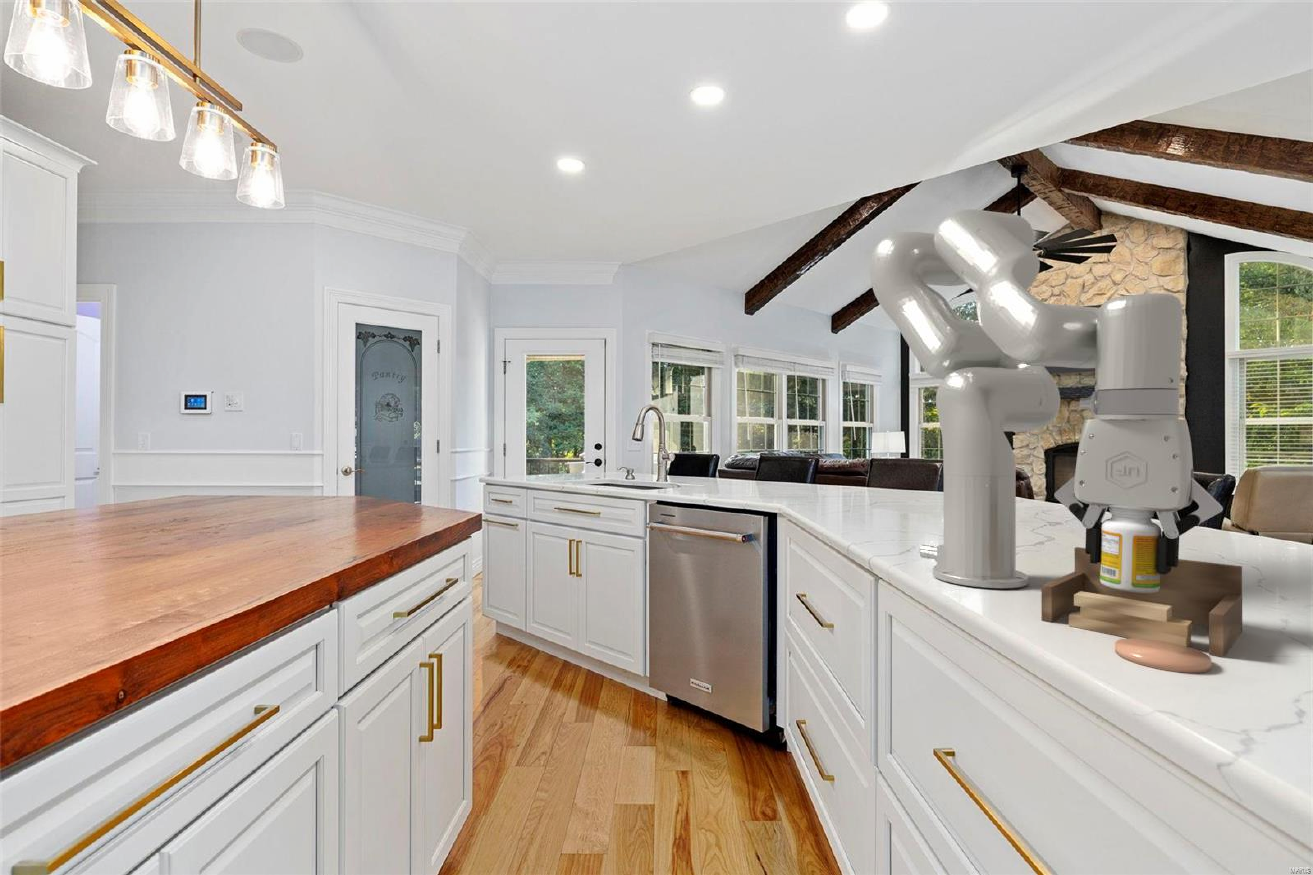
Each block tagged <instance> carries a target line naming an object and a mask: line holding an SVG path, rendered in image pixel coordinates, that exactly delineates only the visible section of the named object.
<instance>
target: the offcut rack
mask: <svg viewBox="0 0 1313 875" xmlns="http://www.w3.org/2000/svg"><path fill="white" fill-rule="evenodd" d="M1078 608H1079V611H1074V610H1076V609H1078ZM1073 611H1074V612H1073ZM1070 612H1072V613H1070ZM1069 613H1070V614H1069ZM1068 614H1069V615H1068ZM1066 615H1068V626H1069V627H1073V628H1078V629H1082V630H1086V631H1091V632H1092V631H1093V632H1097V633H1101V634H1102V633H1103V634H1107V635H1112V636H1116V637H1122V638H1125V639H1127V638H1138V639H1150V640H1158V641H1164V642H1169V643H1174V644H1178V645H1182V646H1186V647H1189V648H1190V646H1191V645H1192V634H1193V625H1200V626H1205V627H1208V654H1209V656H1216V657H1221V658H1224V657H1225V655H1226V654H1227V653H1228V651H1229V650H1230V649H1231V647H1232V646H1233V644H1234V643H1235V641H1236V640H1237V638H1238V637H1239V635H1240V634H1241V633H1242V632H1243V566H1242V565H1233V564H1226V563H1225V564H1224V563H1215V562H1210V561H1209V562H1206V561H1202V560H1200V561H1199V560H1191V559H1183V558H1182V559H1181V558H1178V566H1177V567H1171V571H1170V572H1169V573H1167V574H1166V575H1164V574H1160V589H1159V591H1158V592H1155V593H1136V592H1127V591H1121V590H1116V589H1112V588H1109V587H1107V586H1104V585H1103V584H1102V583H1101V582H1100V562H1099V563H1097V564H1094V563H1090V554H1086V552H1085V547H1079V546H1076V547H1074V571H1072V572H1070V573H1068V574H1065V575H1063V576H1061V577H1059V578H1056V579H1054V580H1051V581H1049V582H1047V583H1045V584H1042V585H1041V621H1043V622H1048V623H1053V622H1054V621H1056V620H1058V619H1060V618H1062V617H1063V616H1066Z"/></svg>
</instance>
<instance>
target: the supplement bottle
mask: <svg viewBox="0 0 1313 875" xmlns="http://www.w3.org/2000/svg"><path fill="white" fill-rule="evenodd" d="M1108 510H1109V514H1111V517H1110V518H1107V519H1105V520H1104V521H1103V520H1102V527H1101V557H1100V582H1101V583H1102V584H1103V585H1104V586H1107V587H1109V588H1112V589H1116V590H1121V591H1127V592H1136V593H1155V592H1158V591H1159V589H1160V574H1159V572H1157V551H1158V538H1160V537H1162V527H1160V526H1161V525H1159V524H1158V523H1156V522H1153V521H1152V518H1154V517H1155V511H1149V510H1139V509H1128V508H1118V507H1108Z"/></svg>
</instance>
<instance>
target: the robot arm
mask: <svg viewBox="0 0 1313 875" xmlns="http://www.w3.org/2000/svg"><path fill="white" fill-rule="evenodd" d="M1034 244H1035V232H1034V229H1033V227H1032V225H1031V224H1030V223H1029V221H1028V220H1027V219H1026V218H1024V217H1023V216H1020V215H1018V214H1013V213H1007V212H999V211H990V210H983V209H974V208H972V209H962V210H958V211H955V212H952V213H950V214H949V215H948V216H946V217H944V219H943V220H941V222H940V223H939V224H938V226H937V227H936V228H935V231H934V233H932V232H923V231H922V232H921V231H902V232H897V233H893V234H890V235H888V236H886V237H883V239H882V240H880V241H879V242H878V243H877V244H876V246H875V248H874V250H873V252H872V255H871V256H872V257H871V259H870V270H869V271H870V280H871V281H870V282H871V286H872V290H873V293H874V296H875V298H876V299H877V302H878V304H879V305H880V307H881V308H882V309H883V311H885V312H884V313H886V314H887V316H888V317H889V318H890V319H891V320H892V322H893V323H894V324H895V325H896V327H897V329H898V330H899V332H900V333H901V335H902V337H903V339H904V340H905V342H906V344H907V346H908V347H909V348H910V351H911V352H912V353H913V355H914V356H915V358H916V361H918V363H919V364H920V365H921V367H922V369H923V371H925V372H926V373H927V374H928V376H931V377H932V378H936V379H938V380H941V382H940V384H939V385H938V387H937V389H936V396H935V405H936V407H935V408H936V412H937V417H938V418H937V419H938V422H939V426H940V431H941V433H940V434H941V439H942V460H943V461H942V462H943V464H942V465H943V472H942V473H943V544H939V545H937V546H934V545H929V544H921V545H920V547H919V556H920V558H922V559H928V560H929V559H931V560H934V561H935V562H936V565H934V566H933V567H932V568H931V569H932V575H933V577H935V579H938V580H940V581H943V582H944V581H945V582H947V583H951V584H955V585H962V586H968V587H973V588H974V587H975V588H983V589H984V588H986V589H1016V588H1017V589H1018V588H1023V587H1025V586H1027V585H1028V584H1029V576H1028V574H1026V573H1024V572H1022V571H1021V570H1017V568H1016V566H1017V565H1016V562H1017V559H1016V541H1017V540H1016V536H1017V533H1016V532H1017V528H1016V524H1017V523H1016V522H1017V521H1016V520H1017V519H1016V510H1017V508H1016V504H1017V503H1016V502H1017V500H1016V495H1017V494H1016V489H1017V488H1016V486H1017V485H1016V481H1017V480H1016V479H1017V478H1016V470H1017V469H1016V467H1017V466H1016V459H1015V458H1016V457H1015V454H1014V450H1013V448H1012V446H1011V443H1010V442H1009V439H1008V438H1007V436H1006V434H1005V432H1032V431H1036V430H1037V431H1038V430H1040V429H1044V428H1045V427H1047V426H1049V425H1050V424H1051V423H1052V422H1053V421H1054V420H1055V419H1056V418H1057V416H1058V414H1059V410H1060V408H1061V395H1060V389H1059V387H1058V386H1057V383H1056V381H1055V379H1054V378H1053V376H1052V375H1051V374H1050V372H1049V371H1048V370H1047V368H1046V367H1056V368H1057V367H1060V368H1061V367H1062V368H1067V369H1071V368H1073V369H1094V370H1095V371H1094V372H1095V373H1094V391H1092V394H1091V395H1090V396H1088V397H1081V398H1080V399H1079V409H1081V410H1088V411H1090V412H1091V415H1093V418H1092V419H1090V418H1087V419H1086V418H1085V419H1084V422H1083V425H1082V427H1081V433H1080V438H1079V443H1078V450H1077V455H1076V463H1075V471H1074V476H1072V477H1071V478H1070V479H1069V480H1068V481H1067V482H1066V483H1064V484H1063V485H1062V486H1061V487H1060V488H1059V489H1057V490H1056V491H1055V492H1054V494H1053V495H1054V498H1055V499H1056V500H1057V501H1059V502H1060V503H1061V504H1062V505H1063V506H1064V507H1065V508H1067V509H1068V511H1069V512H1070V513H1071V514H1072V515H1073V516H1074V517H1075V518H1076V519H1077V520H1078V521H1079V522H1080V523H1081V524H1082V526H1083V528H1085V544H1084V545H1085V547H1084V548H1085V552H1086V554H1090V563H1094V564H1097V563H1099V562H1100V557H1101V527H1102V523H1103V519H1104V517H1105V514H1106V512H1107V510H1108V509H1109V507H1118V508H1128V509H1139V510H1149V511H1154V512H1156V515H1157V518H1158V520H1159V524H1160V526H1161V529H1162V530H1161V534H1162V537H1160V538H1158V551H1157V572H1159V574H1164V575H1166V574H1167V573H1169V572H1170V571H1171V567H1177V566H1178V559H1180V558H1179V555H1180V554H1179V552H1180V551H1179V550H1180V536H1182V535H1183V534H1185V533H1187V532H1189V531H1190V530H1192V529H1194V528H1195V527H1196V526H1198V525H1200V524H1201V523H1203V522H1205V521H1207V520H1209V519H1210V518H1213V517H1214V516H1217V515H1218V514H1220V513H1222V512H1223V510H1224V507H1223V505H1221V504H1220V503H1219V501H1217V500H1216V499H1215V498H1214V497H1213V496H1212V495H1211V494H1210V493H1209V492H1208V491H1207V490H1206V489H1205V488H1204V487H1203V486H1201V484H1199V483H1198V482H1197V481H1196V480H1195V479H1194V466H1193V465H1194V464H1193V463H1194V461H1193V451H1192V450H1193V449H1192V441H1191V435H1190V431H1189V426H1188V422H1187V419H1179V418H1180V417H1179V416H1180V392H1181V391H1180V389H1181V373H1182V372H1181V366H1182V342H1183V341H1182V340H1183V318H1184V317H1183V315H1184V314H1183V313H1184V312H1183V304H1182V302H1181V300H1180V299H1179V298H1178V297H1177V296H1175V295H1173V294H1168V293H1157V292H1155V293H1138V294H1137V293H1136V294H1129V295H1123V296H1118V297H1115V298H1111V299H1109V300H1106V301H1105V302H1103V303H1102V304H1101V306H1100V307H1093V306H1080V305H1070V304H1068V305H1067V304H1058V303H1057V304H1055V303H1054V304H1053V303H1044V302H1043V301H1041V299H1039V298H1037V297H1036V296H1034V295H1033V294H1032V293H1031V292H1030V291H1029V289H1030V287H1031V286H1032V285H1033V283H1035V281H1036V279H1037V277H1038V274H1039V273H1040V266H1041V264H1040V259H1039V256H1038V255H1037V253H1036V252H1035V251H1034V250H1033V249H1034ZM929 285H930V286H931V285H932V286H943V287H956V286H964V285H967V286H968V287H969V288H970V289H971V290H972V291H973V292H974V293H976V295H977V296H976V304H975V305H976V315H977V316H976V317H977V320H978V321H972V320H968V319H967V320H966V319H963V318H962V317H960V316H959V315H958V314H957V313H956V312H955V310H954V309H953V308H952V307H951V305H950V303H949V302H948V301H947V299H946V298H944V297H943V295H942V294H941V293H940V292H938V291H936V290H935V289H933V288H932V287H930V286H929ZM1193 501H1195V503H1197V505H1198V508H1197V510H1194V511H1193V512H1191V513H1189V514H1188V515H1186V516H1185V517H1183V518H1180V516H1179V514H1178V513H1179V512H1178V511H1179V510H1182V509H1184V508H1187V507H1189V506H1190V505H1192V503H1193ZM1085 504H1086V505H1088V507H1087V506H1086V505H1085Z"/></svg>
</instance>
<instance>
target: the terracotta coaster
mask: <svg viewBox="0 0 1313 875" xmlns="http://www.w3.org/2000/svg"><path fill="white" fill-rule="evenodd" d="M1114 648H1115V649H1114V652H1115V653H1116V655H1118V656H1119V657H1121V658H1123V659H1124V660H1127V661H1128V662H1132V663H1134V664H1137V665H1142V666H1144V667H1148V668H1153V669H1157V670H1161V671H1162V670H1163V671H1168V672H1173V673H1174V672H1177V673H1184V674H1185V673H1187V674H1200V673H1201V674H1202V673H1207V672H1210V671H1211V670H1212V658H1211V656H1210V655H1208V654H1206V653H1205V652H1202V651H1201V650H1198V649H1195V648H1192V647H1190V646H1189V647H1186V646H1182V645H1178V644H1174V643H1169V642H1164V641H1158V640H1150V639H1138V638H1120V639H1118V640H1116V641H1115V643H1114Z"/></svg>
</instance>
